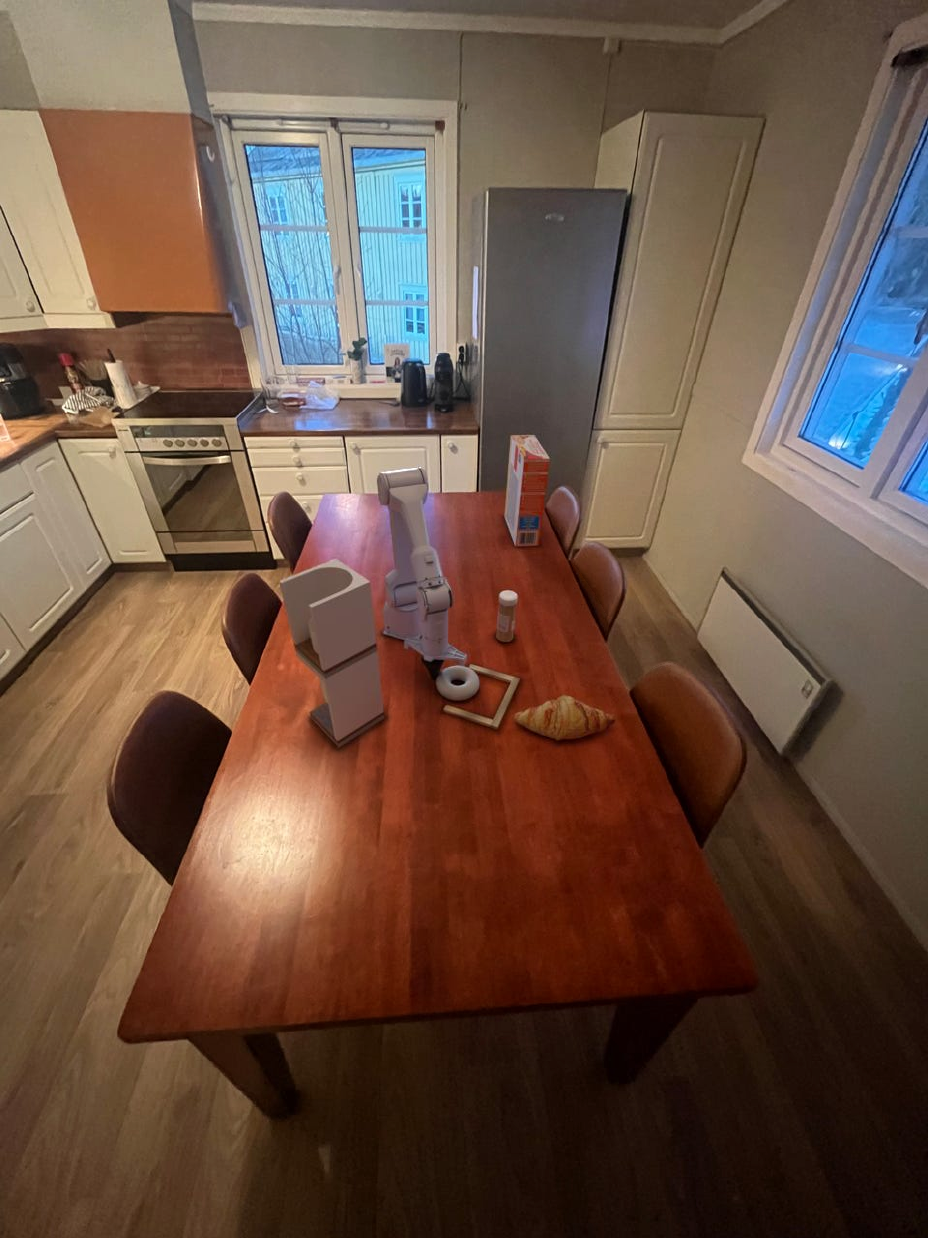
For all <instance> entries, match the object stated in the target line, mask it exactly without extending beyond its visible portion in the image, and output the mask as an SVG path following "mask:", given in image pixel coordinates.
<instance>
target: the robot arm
mask: <svg viewBox="0 0 928 1238" xmlns="http://www.w3.org/2000/svg"><path fill="white" fill-rule="evenodd" d="M429 485H430V483H429V479H428V474H427V471H426V470H425V469H424V467H422V466H417V467H415V468H414V467H413V468H406V469H399V470H398V469H397V470H391V471H390V470H389V471H379V473H378V475H377V478H376V486H377V495H378V502H379V504H380V505H381V506H385V507H387V510H388V514H389V525H390V533H391V544H392V553H393V563H394V569H392V570H391V571H389V573H388V574H386V575H385V577H384V588H383V589H384V595H385V599H386V601H385V602H384V605H383V610H382V619H383V629H384V630H383V632H382V634H383V635H385V636H389V637H392V638H395V639H399V640H401V641H403V648H404V649H406V650H410V649H413V650H414V651H416V652H418V653H419V654H420V655H422V656H421V658H420V659H421V663H422V664H423V665H424V667H426V669H427V671H428V673H429V677H430V678H431V680H432V681H434V682H436V680H437V677H438V675H439V674H440V672H441V669H442V666H443V665H444V662H445V661H453V662H456V663H458V666H464V665H465V664H466V662H467V660H468V654H467V653H465V652H462V651H461V650H459V649H457V647H456V648H455V647H454V646H453V645H451V644H449V609H452V608H453V607H454V596H453V595H454V594H453V591H452V587H451V585H450V583H449V582H448V579H447V577H446V576H444V574H443V569H442V566H441V562H440V561H441V560H440V557H439V554H438V553H439V552H438V550H437V549H435V548H434V547H432V545H431V543H430V538H429V537H430V536H429V531H428V526H427V518H426V512H425V506H424V505H425V504H426V503H427V500H428V494H429Z"/></svg>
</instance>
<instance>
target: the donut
mask: <svg viewBox="0 0 928 1238" xmlns="http://www.w3.org/2000/svg"><path fill="white" fill-rule="evenodd" d="M454 681H462V682H463V684H461V685H455V684H453V683H452V682H454ZM435 685H436V689H437V691H438V693H440V695H441V696H442V697H444V698H445V699H448V700H450V701H456V702H458V701H459V702H460V701H466V700H468V699H471V698H472V697H473V696H474V695H476V694H477V692H478V690H479V689H480V679H479V676H478V673H476V672H474V671H473V670H471V669H469V668H468V667H467V666H464V665H463V666H462V665H451V666H449V667H446V668H444V669H442V670H440V673H439V675H438V677H437V679H436V681H435Z"/></svg>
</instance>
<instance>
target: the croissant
mask: <svg viewBox="0 0 928 1238" xmlns="http://www.w3.org/2000/svg"><path fill="white" fill-rule="evenodd" d="M514 721H515V722H516V723H517V724H518V725H520V726H523V727H525V728H526V729H528V730H529V731H531V732H533V733H537V734H538V735H541V736H543V737H548V738H551V739H554V740H555V741H557V742H558V741H562V740H573V739H574V740H575V739H576V740H577V739H581V738H583V737H587V736H588V735H589V736H590V735H591V734H595V733H597V732H602V731H604V730H606V729H608V728H609V727H611V725H613V724H614V723H615V722H616V718H615V715H614V714H612V713H605V712H604V711H603V710H602V709H598V708H595V707H594V708H593V707H591V706H590V705H588V704H586V703H584V701H582V700H577V699H576V698H574V697H573V696H569V695H566V694H565V695H560V696H559V697H557V699H549V700H546V701H545V702H544V703H543V704H542V705H537V706H530V707H528V708H527V709H526V710H524V711H518V712H517V713H515V714H514Z"/></svg>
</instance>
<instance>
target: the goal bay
mask: <svg viewBox="0 0 928 1238" xmlns="http://www.w3.org/2000/svg"><path fill="white" fill-rule="evenodd" d="M467 668H469V669H471V670H473V671H474V672H475V673H476V674H480V675H482V676H486V677H490V678H493V679H497V680H500V681H503V682H507V683H509V686H508V688H507V690H506V693H504V696H503V698H502V700H501V703H500V705H499V706H498V709H497V710H496V713H495V715H494V717H493V719H491V718H488V717H485V716H482V715H480V714H476V713H473V712H470V711H467V710H464V709H461V708H457V707H454V706H451V705H448V704H446V705H444V708H443V711H442V712H444V713H447V714H450V715H452V716H456V717H458V718H462V719H465V720H466V721H471V722H474V723H477V724H480V725H483V726H486V727H489V728H492V729H495V730H498V728H499V726H500V724H501V722H502V720H503V718H504V715H505V713H506V711H507V709H508V708H509V705H510V703H511V700H512V699H513V696H514V694H515V692H516V690H517V688H518V686H519V684H520V680H521V679H520V678H519V677H516V676H512V675H509V674H506V673H502V672H500V671H495V670H493V669H489V668H486V667H482V666H478V665H475V664H472V663H470V664H469V666H468V667H467Z"/></svg>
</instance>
